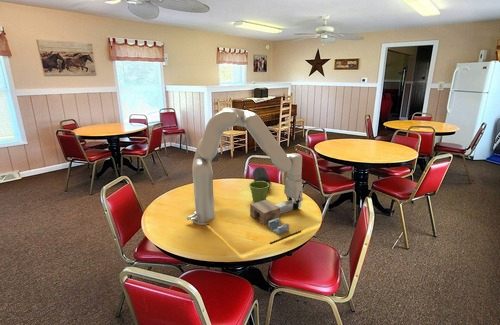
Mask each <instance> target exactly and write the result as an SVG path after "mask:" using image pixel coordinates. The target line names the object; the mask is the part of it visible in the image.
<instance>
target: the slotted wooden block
mask: <svg viewBox="0 0 500 325" xmlns="http://www.w3.org/2000/svg"><path fill="white" fill-rule="evenodd" d="M249 212H250V213H249V216H250V217H251V218H253V219H254V220H256V221H257V222H259V223H261V224H262V226H265V225H268V221H271V220H273V219H276V218H279V219H281V214H280V208H279V207H278V206H276V205H275V204H274V203H272V202H271V201H269V200H267V199H266V200H263V201H260V202H257V203H256V202H253V203H250V204H249Z"/></svg>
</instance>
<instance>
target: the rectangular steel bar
mask: <svg viewBox="0 0 500 325" xmlns="http://www.w3.org/2000/svg"><path fill="white" fill-rule="evenodd" d="M296 201H297V199H296ZM274 205H276V206H278V207H279V208H280V215H282V214H285V213H288V212H291V211H294V210H293V209H294V199H293V198H292V200H289V201H288V200H286V201H281V202H279V203H275V204H274ZM299 208H302V201H301V202H300V203H299Z"/></svg>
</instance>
